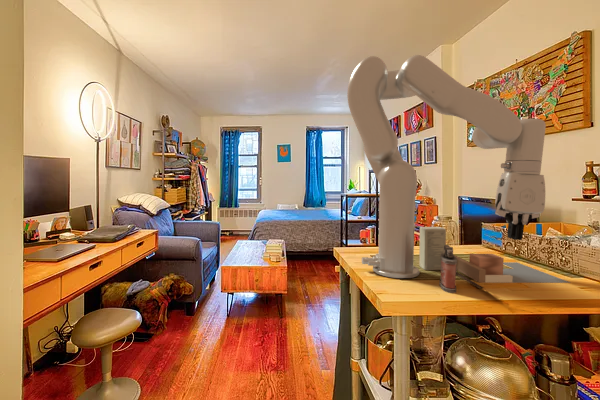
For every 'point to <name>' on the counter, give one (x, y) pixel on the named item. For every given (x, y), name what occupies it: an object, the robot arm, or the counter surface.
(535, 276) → the trap deck
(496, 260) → the block
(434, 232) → the skincare box
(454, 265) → the lighter
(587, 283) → the counter surface
